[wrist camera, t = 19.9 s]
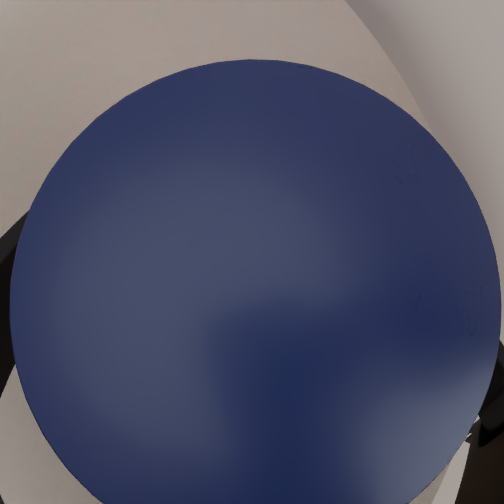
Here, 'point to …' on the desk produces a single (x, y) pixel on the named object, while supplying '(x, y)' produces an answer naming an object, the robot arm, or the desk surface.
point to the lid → (255, 295)
